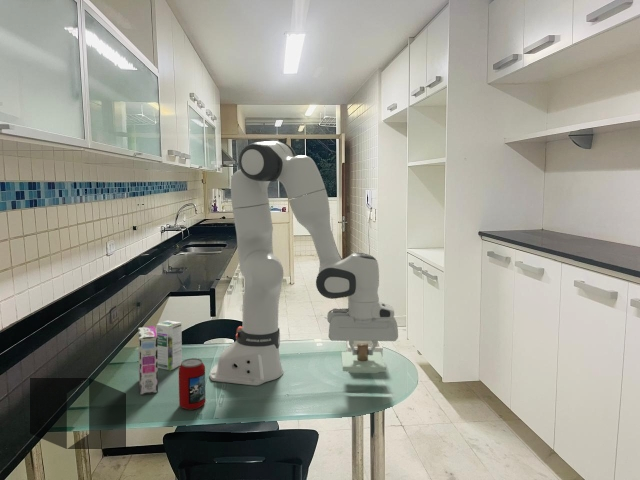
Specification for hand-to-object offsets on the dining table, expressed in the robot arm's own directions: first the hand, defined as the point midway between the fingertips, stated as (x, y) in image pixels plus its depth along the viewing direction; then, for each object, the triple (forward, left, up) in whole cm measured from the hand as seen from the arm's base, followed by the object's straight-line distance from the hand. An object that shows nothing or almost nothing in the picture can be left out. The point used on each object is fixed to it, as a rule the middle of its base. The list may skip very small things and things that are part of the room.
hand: (362, 354), depth 134 cm
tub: (+2, +16, -10) cm, 19 cm away
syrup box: (-61, +12, -10) cm, 63 cm away
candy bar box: (-62, -3, -10) cm, 63 cm away
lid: (0, 0, -4) cm, 4 cm away
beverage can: (-46, -14, -10) cm, 49 cm away
